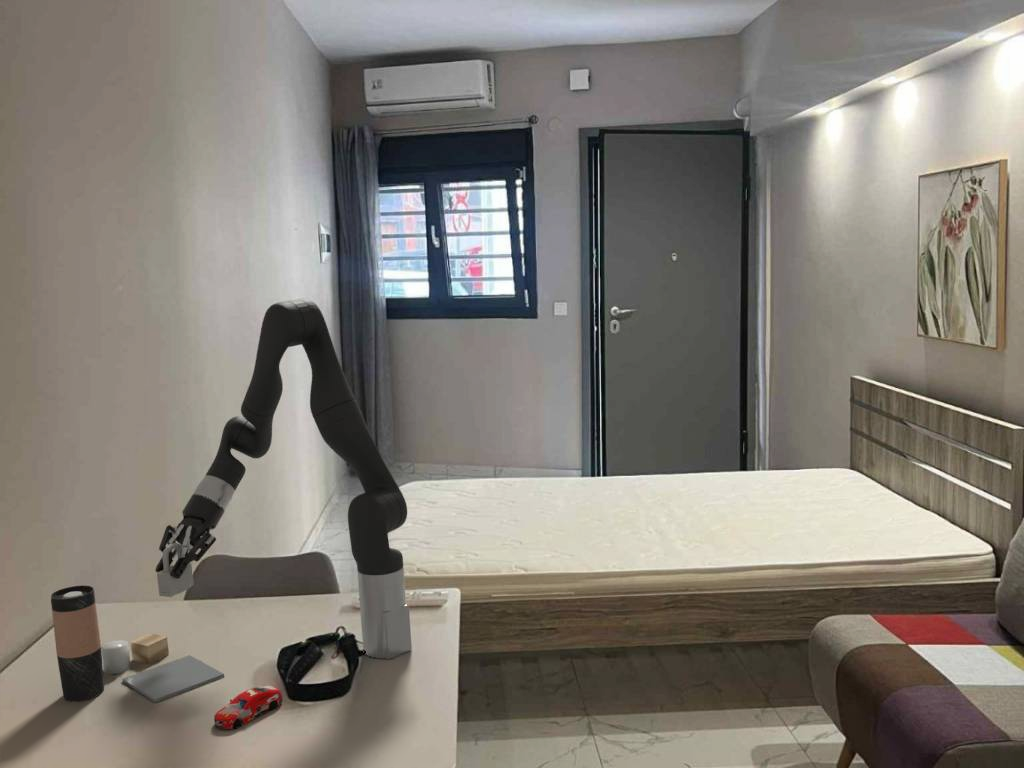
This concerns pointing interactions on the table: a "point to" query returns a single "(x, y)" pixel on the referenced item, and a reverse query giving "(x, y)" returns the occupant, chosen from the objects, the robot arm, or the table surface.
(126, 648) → the white rounded capsule
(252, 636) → the table surface
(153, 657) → the oak block
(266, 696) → the race car
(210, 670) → the mat
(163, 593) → the padlock
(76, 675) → the travel mug
